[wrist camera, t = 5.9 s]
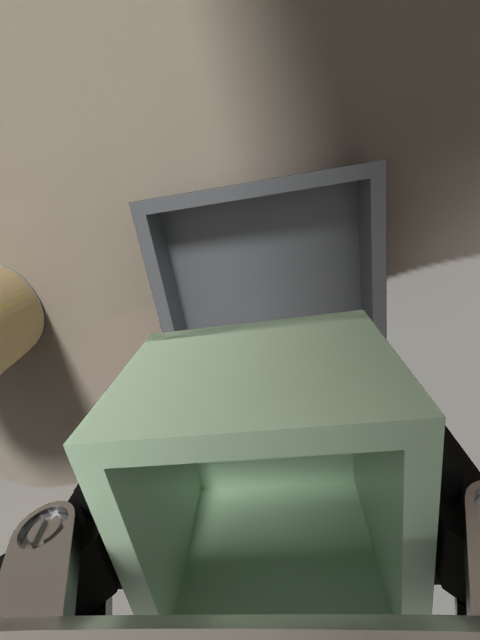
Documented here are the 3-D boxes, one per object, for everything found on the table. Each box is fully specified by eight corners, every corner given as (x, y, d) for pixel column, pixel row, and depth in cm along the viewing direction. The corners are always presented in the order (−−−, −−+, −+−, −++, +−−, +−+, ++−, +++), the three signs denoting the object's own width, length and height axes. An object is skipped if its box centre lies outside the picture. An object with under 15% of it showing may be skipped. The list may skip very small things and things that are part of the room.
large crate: (148, 199, 23) (128, 202, 19) (367, 162, 21) (386, 159, 17) (192, 381, 28) (182, 407, 24) (371, 364, 26) (386, 390, 22)
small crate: (151, 333, 11) (62, 445, 6) (363, 309, 10) (445, 416, 5) (192, 488, 13) (150, 655, 8) (368, 479, 12) (428, 658, 8)
